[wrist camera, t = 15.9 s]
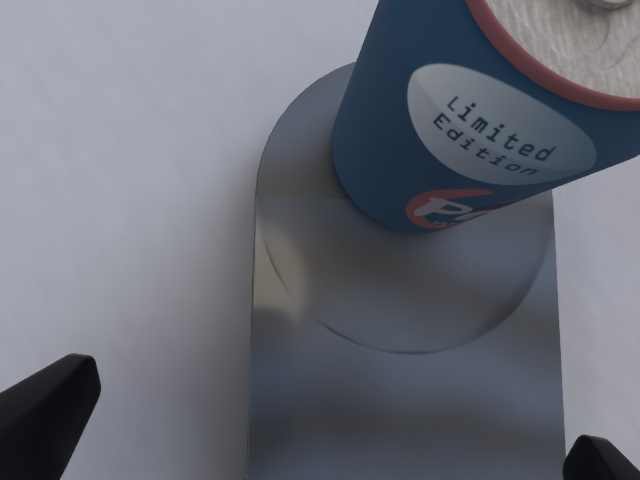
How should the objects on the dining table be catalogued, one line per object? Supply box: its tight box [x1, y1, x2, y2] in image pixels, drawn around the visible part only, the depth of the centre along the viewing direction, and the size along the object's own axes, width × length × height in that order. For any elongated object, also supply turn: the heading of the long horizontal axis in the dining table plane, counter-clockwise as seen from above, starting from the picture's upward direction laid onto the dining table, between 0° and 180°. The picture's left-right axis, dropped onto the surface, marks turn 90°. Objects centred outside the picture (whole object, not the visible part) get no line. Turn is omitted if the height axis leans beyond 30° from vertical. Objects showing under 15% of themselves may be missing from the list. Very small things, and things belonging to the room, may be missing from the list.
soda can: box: [332, 0, 640, 233], centre depth 13 cm, size 7×7×12 cm
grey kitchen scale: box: [246, 62, 566, 480], centre depth 20 cm, size 26×13×3 cm, turn 179°
